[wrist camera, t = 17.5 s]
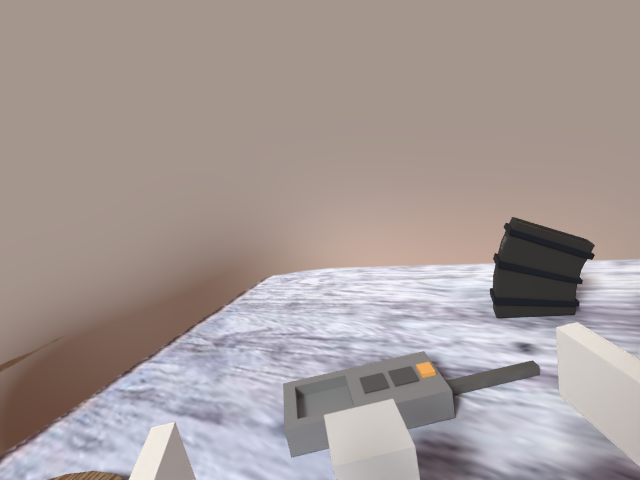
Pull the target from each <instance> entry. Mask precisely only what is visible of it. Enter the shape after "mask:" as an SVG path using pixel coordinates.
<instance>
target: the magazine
mask: <svg viewBox="0 0 640 480" xmlns="http://www.w3.org/2000/svg"><path fill="white" fill-rule="evenodd" d="M504 228H505V230H506V232H505V234H504V236H503V239H502V241H501V244H500V248H499V252H498V254H496V253H495V255H494V258H493V259H494V261H495V264H496V265H495V270H494V275H493V288H490V295H491V298H492V301H493V310H494V312H495V315H496V317H497V318H512V317H534V316H556V315H574V314H575V306H577V307H579V302H578V301H577V299H576V298H575V296H576V288H577V283H578V284H582V282H583V280H582V279H581V278H580V277H579V276H580V273H581V270H582V268H583V266H584V264H585V262H586V260H587V259H591V260H592V259H593V257H594V256H595V255H594V254H593V253H591V251H592V249H593V247H594V246H595V245H594V244H593V243H591V242H590V241H588V240H587V239H584V238H581V237H577V236H574V235H571V234H567V233H564V232H561V231H557V230H554V229H551V228H548V227H544V226H541V225H537V224H534V223H530V222H528V221H524V220H521V219H518V218H514V217H512V219H511V221H510V223H509V224H508V223H506V224H505V226H504Z"/></svg>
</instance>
